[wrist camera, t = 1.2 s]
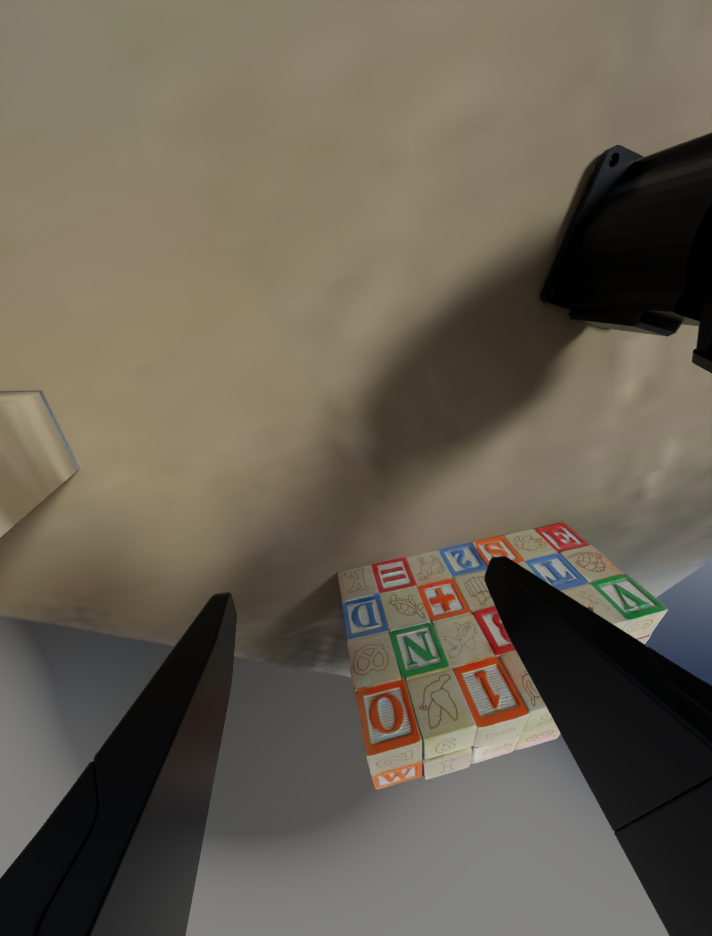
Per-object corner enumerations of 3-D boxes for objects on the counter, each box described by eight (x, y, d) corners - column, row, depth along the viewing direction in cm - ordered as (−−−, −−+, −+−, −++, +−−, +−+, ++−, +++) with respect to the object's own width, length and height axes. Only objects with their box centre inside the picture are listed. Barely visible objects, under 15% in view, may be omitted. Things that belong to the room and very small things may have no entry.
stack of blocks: (564, 518, 28) (728, 656, 18) (549, 564, 31) (679, 703, 21) (334, 571, 26) (365, 763, 15) (344, 614, 29) (375, 797, 19)
